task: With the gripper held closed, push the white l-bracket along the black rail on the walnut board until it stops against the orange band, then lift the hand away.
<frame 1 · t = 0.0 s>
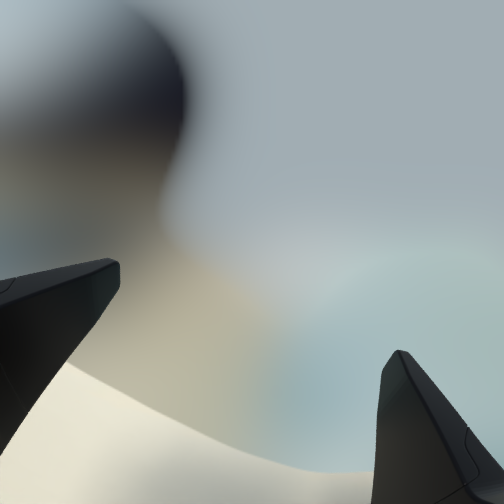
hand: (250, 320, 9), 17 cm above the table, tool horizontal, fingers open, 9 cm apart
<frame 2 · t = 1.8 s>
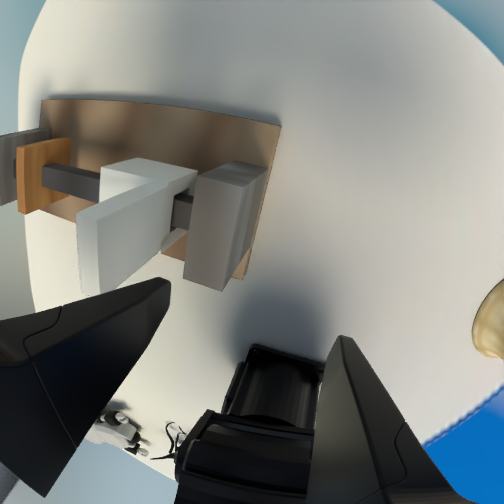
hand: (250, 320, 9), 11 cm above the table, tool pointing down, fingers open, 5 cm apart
white l-bracket: (120, 213, 13), point 7 cm above the table, slide at -0.1 cm
robot toy: (106, 412, 37), on the table
rail board: (128, 170, 20), on the table
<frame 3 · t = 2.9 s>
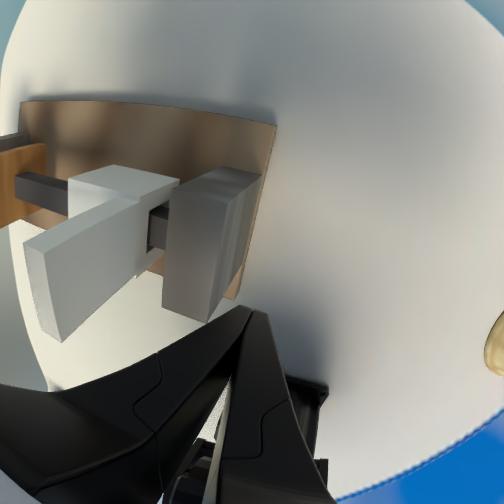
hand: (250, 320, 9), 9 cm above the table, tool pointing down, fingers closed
white l-bracket: (88, 233, 11), point 7 cm above the table, slide at -0.1 cm
rail board: (108, 178, 18), on the table
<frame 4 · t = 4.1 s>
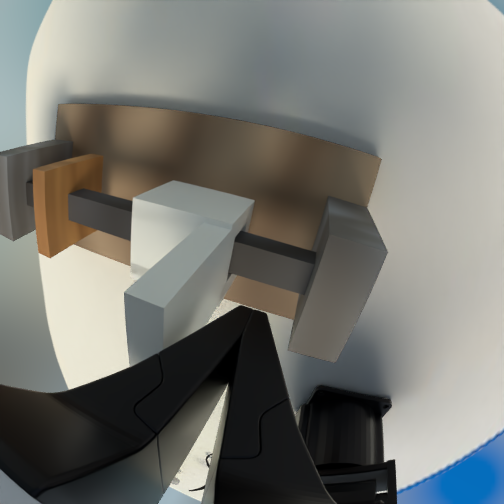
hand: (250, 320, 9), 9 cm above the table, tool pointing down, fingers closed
white l-bracket: (165, 262, 11), point 7 cm above the table, slide at 1.6 cm, touching gripper
rail board: (178, 197, 17), on the table
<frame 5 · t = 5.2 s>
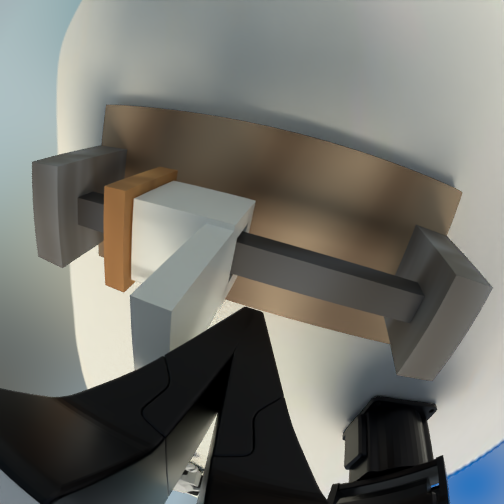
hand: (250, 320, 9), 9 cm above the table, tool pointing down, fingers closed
white l-bracket: (167, 263, 10), point 7 cm above the table, slide at 6.4 cm, touching gripper
robot toy: (160, 456, 34), on the table
rail board: (257, 218, 16), on the table
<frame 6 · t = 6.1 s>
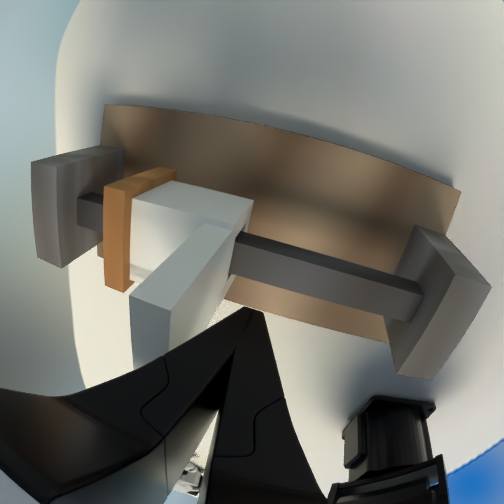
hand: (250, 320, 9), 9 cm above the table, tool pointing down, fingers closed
white l-bracket: (166, 263, 10), point 7 cm above the table, slide at 6.5 cm, touching gripper
robot toy: (160, 456, 34), on the table
rail board: (257, 218, 16), on the table
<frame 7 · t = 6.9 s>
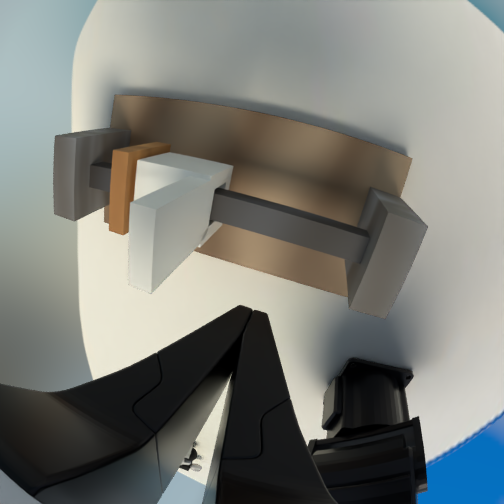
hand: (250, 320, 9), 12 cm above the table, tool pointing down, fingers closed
white l-bracket: (160, 206, 13), point 7 cm above the table, slide at 6.3 cm
rail board: (236, 185, 19), on the table
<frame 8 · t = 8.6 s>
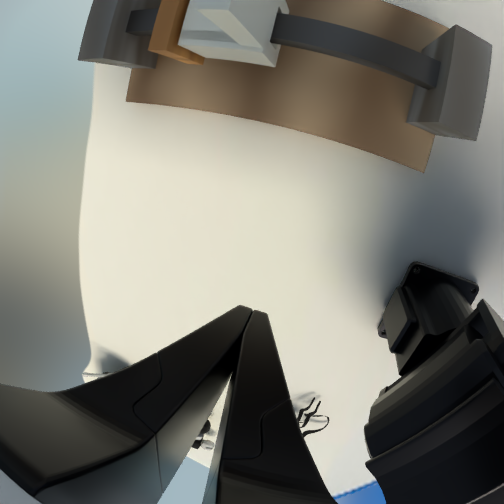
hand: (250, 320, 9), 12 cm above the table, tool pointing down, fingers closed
white l-bracket: (221, 7, 9), point 7 cm above the table, slide at 6.3 cm
robot toy: (159, 398, 33), on the table
rail board: (284, 49, 15), on the table
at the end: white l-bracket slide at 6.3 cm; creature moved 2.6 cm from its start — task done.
